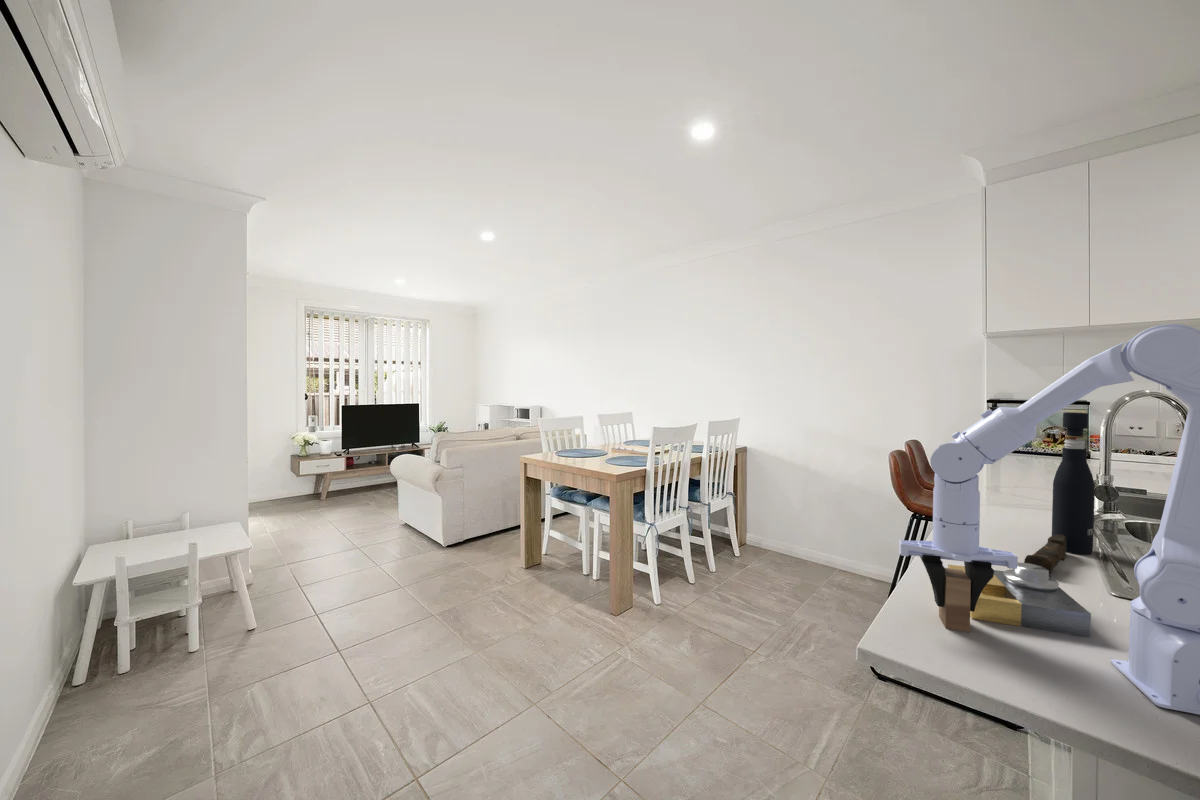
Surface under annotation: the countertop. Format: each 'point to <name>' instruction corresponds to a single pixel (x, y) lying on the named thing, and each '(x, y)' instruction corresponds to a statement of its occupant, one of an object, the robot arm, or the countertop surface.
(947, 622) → the wedge
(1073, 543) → the wine bottle
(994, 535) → the countertop surface
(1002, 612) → the slotted base block
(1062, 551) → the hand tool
